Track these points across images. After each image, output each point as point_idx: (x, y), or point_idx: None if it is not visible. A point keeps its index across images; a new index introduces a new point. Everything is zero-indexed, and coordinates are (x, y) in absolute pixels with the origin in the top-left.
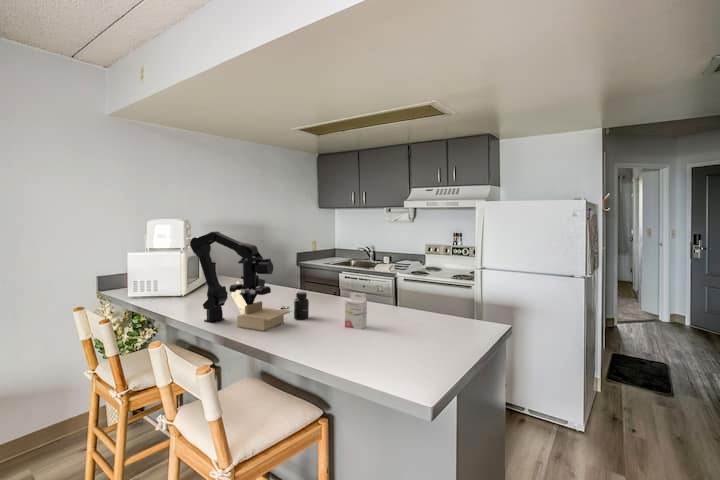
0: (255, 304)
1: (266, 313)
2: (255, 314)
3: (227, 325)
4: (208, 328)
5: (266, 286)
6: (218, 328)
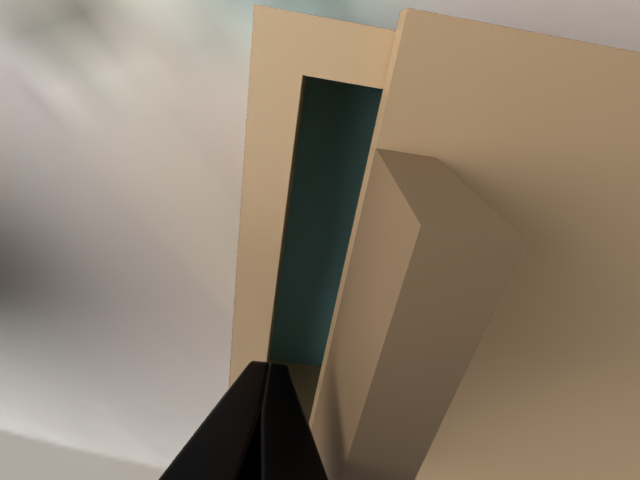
0: (407, 464)
1: (605, 385)
2: (452, 450)
3: (112, 337)
4: (42, 424)
5: None
6: (115, 409)
